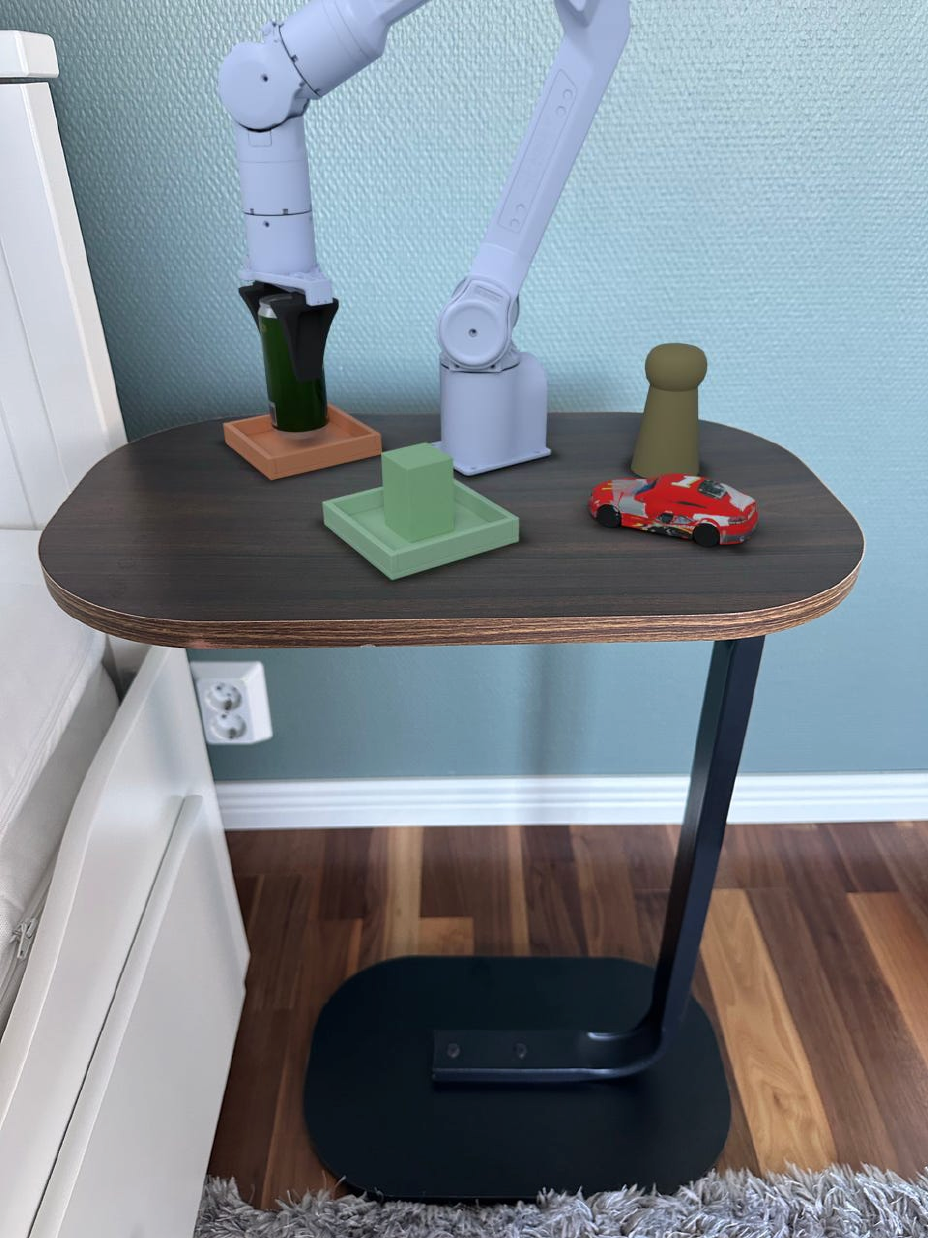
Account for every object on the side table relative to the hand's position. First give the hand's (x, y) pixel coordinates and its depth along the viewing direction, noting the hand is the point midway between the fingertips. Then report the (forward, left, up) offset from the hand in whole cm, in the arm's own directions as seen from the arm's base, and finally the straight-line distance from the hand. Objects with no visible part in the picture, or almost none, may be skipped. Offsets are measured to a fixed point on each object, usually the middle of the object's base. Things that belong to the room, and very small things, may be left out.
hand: (294, 371), depth 86 cm
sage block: (0, +22, -7) cm, 23 cm away
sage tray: (0, +22, -7) cm, 23 cm away
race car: (-17, +32, -8) cm, 37 cm away
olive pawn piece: (-25, +23, -8) cm, 35 cm away
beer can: (0, 0, -6) cm, 6 cm away
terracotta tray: (0, 0, -7) cm, 7 cm away
